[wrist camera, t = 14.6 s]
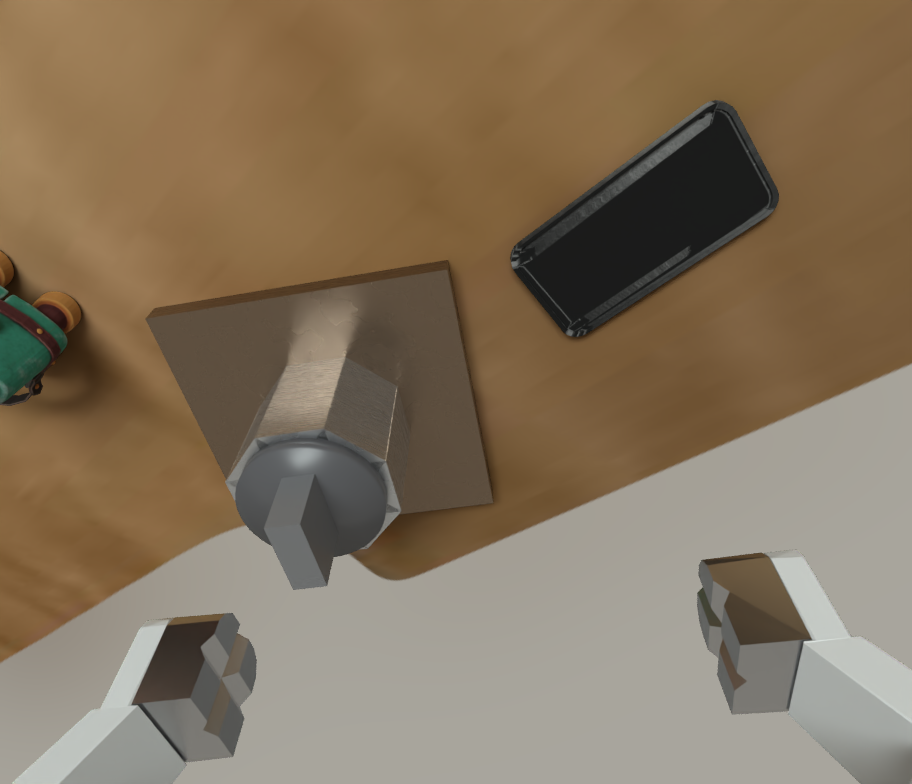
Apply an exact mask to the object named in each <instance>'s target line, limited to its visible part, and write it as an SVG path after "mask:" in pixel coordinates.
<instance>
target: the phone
mask: <svg viewBox="0 0 912 784" xmlns="http://www.w3.org/2000/svg"><path fill="white" fill-rule="evenodd" d="M778 200H779V193H778V190H777V188H776V186H775V184H774V182H773V180H772V178H771V176H770V174H769V173H768V171H767V169H766V167H765V165H764V163H763V161H762V159H761V157H760V155H759V154H758V152H757V150H756V148H755V146H754V144H753V142H752V140H751V138H750V136H749V135H748V133H747V131H746V129H745V127H744V125H743V123H742V121H741V119H740V117H739V116H738V114H737V112H736V110H735V109H734V108H733V107H732V106H731V105H729V104H727V103H725V102H723V101H718V100H715V101H710V102H708V103H706V104H704V105H702V106H701V107H700V108H698V109H697V110H696V111H694V112H693V113H692V114H690V115H689V116H688V117H686V118H685V119H684V120H682V121H681V122H680V123H678V124H677V125H676V126H674V127H673V128H672V129H670V130H669V131H667V132H666V133H665V134H663V135H662V136H661V137H659V138H658V139H657V140H655V141H654V142H653V143H651V144H650V145H649V146H647V147H646V148H645V149H643V150H642V151H641V152H639V153H638V154H637V155H635V156H634V157H633V158H631V159H630V160H629V161H627V162H626V163H624V164H623V165H622V166H620V167H619V168H618V169H616V170H615V171H614V172H612V173H611V174H610V175H608V176H607V177H606V178H604V179H603V180H602V181H600V182H599V183H598V184H596V185H595V186H594V187H592V188H591V189H590V190H588V191H587V192H586V193H584V194H583V195H582V196H580V197H579V198H577V199H576V200H575V201H573V202H572V203H571V204H569V205H568V206H567V207H565V208H564V209H563V210H561V211H560V212H559V213H557V214H556V215H555V216H553V217H552V218H551V219H549V220H548V221H547V222H545V223H544V224H543V225H541V226H540V227H539V228H537V229H536V230H534V231H533V232H532V233H530V234H529V235H528V236H526V237H525V238H524V239H522V240H521V241H520V242H518V243H517V244H516V245H515V246H514V248H513V250H512V252H511V257H510V258H511V264H512V268H513V270H514V271H515V273H516V274H517V275H518V276H519V278H520V279H521V280H522V281H523V283H524V284H525V285H526V286H527V288H528V289H529V290H530V291H531V293H532V294H533V295H534V296H535V297H536V299H537V300H538V301H539V302H540V304H541V305H542V306H543V307H544V309H545V310H546V311H547V312H548V314H549V315H550V316H551V317H552V319H553V320H554V321H555V322H556V323H557V325H558V326H559V327H560V328H561V330H562V331H563V332H564V333H565V334H567V335H569V336H573V337H578V336H583V335H585V334H587V333H588V332H590V331H592V330H593V329H595V328H596V327H598V326H599V325H601V324H602V323H604V322H605V321H607V320H608V319H610V318H612V317H613V316H615V315H616V314H618V313H619V312H621V311H622V310H624V309H625V308H627V307H628V306H630V305H632V304H633V303H635V302H636V301H638V300H639V299H641V298H642V297H644V296H645V295H647V294H648V293H650V292H652V291H653V290H655V289H656V288H658V287H659V286H661V285H662V284H664V283H665V282H667V281H669V280H670V279H672V278H673V277H675V276H676V275H678V274H679V273H681V272H682V271H684V270H685V269H687V268H689V267H690V266H692V265H693V264H695V263H696V262H698V261H699V260H701V259H702V258H704V257H705V256H707V255H709V254H710V253H712V252H713V251H715V250H716V249H718V248H719V247H721V246H722V245H724V244H726V243H727V242H729V241H730V240H732V239H733V238H735V237H736V236H738V235H739V234H741V233H742V232H744V231H746V230H747V229H749V228H750V227H752V226H753V225H755V224H756V223H758V222H759V221H761V220H763V219H764V218H766V217H767V216H768V215H769V214H771V213H772V212H773V210H774V209H775V208H776V206H777V203H778Z"/></svg>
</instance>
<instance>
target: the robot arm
mask: <svg viewBox="0 0 912 784" xmlns="http://www.w3.org/2000/svg"><path fill="white" fill-rule="evenodd" d="M699 578H700V580H701V583H702V585H703V588H702V589H701V590H700V591H699V592H698V593H697V594H698V595H697V596H698V598H697V599H698V600H697V607H698V615H699V621H700V626H701V629H702V633H703V636H704V639H705V642H706V645H707V648H708V650H709V651H710V652H712V653H713V654H714V655H716V656H717V657H718V658H719V661H718V673H717V675H718V678H719V681H720V683H721V686H722V689H723V692H724V694H725V697H726V700H727V702H728V705H729V708H730V710H731V713H732V714H748V713H765V712H783V711H789V712H788V715H790V716H791V717H792V718H793V719H794V720H795V721H796V722H797V723H798V724H799V725H800V726H801V727H802V728H803V729H804V730H805V731H806V732H807V733H808V734H809V735H810V736H811V737H813V738H814V739H815V740H816V741H817V742H818V743H819V744H820V745H821V746H822V747H823V748H824V749H825V750H826V751H827V752H829V754H830V755H831V756H832V757H833V758H835V760H837V761H838V762H839V763H840V764H841V765H842V766H843V767H844V768H845V769H846V770H847V771H848V772H849V773H850V774H851V775H852V776H853V777H854V778H855V779H856V780H857V781H858V782H859V783H861V784H912V669H910V668H909V667H907V666H906V665H904V664H903V663H901V662H900V661H898V660H897V659H895V658H894V657H892V656H891V655H889V654H888V653H886V652H885V651H883V650H882V649H880V648H879V647H877V646H876V645H874V644H873V643H871V642H870V641H868V640H867V639H866V638H864V637H862V636H855V637H852V636H851V635H850V633H849V631H848V630H847V628H846V626H845V625H844V623H843V621H842V620H841V618H840V616H839V615H838V613H837V611H836V609H835V608H834V606H833V604H832V603H831V601H830V599H829V598H828V596H827V594H826V593H825V591H824V589H823V588H822V586H821V584H820V583H819V581H818V579H817V577H816V576H815V574H814V572H813V571H812V569H811V567H810V566H809V564H808V562H807V561H806V559H805V557H804V555H803V554H802V553H800V552H799V551H798V550H787V551H778V552H770V553H764V554H763V553H754V554H746V555H739V556H731V557H723V558H714V559H706V560H701V562H700V564H699ZM239 626H240V624H239V622H238V621H237V619H236V618H235V616H234V615H233V613H226V614H213V615H201V616H189V617H176V618H167V619H156V620H148V621H147V622H146V623H145V624H144V625H143V626H142V627H141V628H140V629H139V631H138V633H137V635H136V637H135V639H134V641H133V643H132V645H131V647H130V649H129V651H128V653H127V656H126V658H125V659H124V661H123V663H122V665H121V667H120V670H119V672H118V674H117V676H116V678H115V680H114V682H113V684H112V686H111V688H110V690H109V692H108V694H107V696H106V698H105V700H104V702H103V704H102V706H101V708H100V709H93V710H91V711H90V712H89V713H88V714H87V715H86V716H85V717H84V718H82V719H81V720H80V721H79V722H78V723H77V724H76V725H75V726H74V727H73V728H72V729H70V730H69V731H68V732H67V733H66V734H65V735H64V736H63V737H62V738H61V739H60V740H58V741H57V742H56V743H55V744H54V745H53V746H52V747H51V748H50V749H49V750H48V751H46V753H44V754H43V755H42V756H41V757H40V758H39V759H38V760H37V761H36V762H35V763H34V764H32V765H31V766H30V767H29V768H28V769H27V770H26V771H25V772H24V773H23V774H21V775H20V776H19V777H18V778H17V779H16V780H15V781H14V782H13V783H12V784H172V783H173V782H174V781H175V780H176V778H177V777H178V776H179V774H180V773H181V772H182V771H183V769H184V768H185V767H186V763H185V762H193V761H202V760H210V759H219V758H227V757H233V755H234V752H235V748H236V745H237V741H238V738H239V735H240V731H241V728H242V725H243V721H244V716H243V714H242V711H241V709H240V706H241V704H242V703H243V702H244V701H245V700H246V699H247V698H248V697H249V696H250V695H251V693H252V690H253V686H254V682H255V679H256V661H257V660H256V656H255V652H254V648H253V646H252V644H251V642H250V641H249V639H247V638H245V637H243V636H241V635H240V634H238V633H237V632H238V629H239Z"/></svg>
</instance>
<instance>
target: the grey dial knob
mask: <svg viewBox="0 0 912 784" xmlns="http://www.w3.org/2000/svg"><path fill="white" fill-rule="evenodd" d="M235 502H236V506H237V510H238V512H239V514H240V516H241V518H242V520H243V521H244V523H245V524H246V525H247V527H248V528H249V529H250V530H251V531H252V532H253V533H254V534H255V535H256V536H258V537H259V538H260V539H261V540H263V541H265V542H266V543H268V544H269V545H271V546H272V547H273V549H274V551H275V553H276V555H277V557H278V559H279V561H280V563H281V565H282V567H283V569H284V571H285V573H286V575H287V578H288V579H289V581H290V584H291V586H292V588H293V590H296V589H305V588H314V587H323V586H327V584H328V579H329V575H330V570H331V566H332V561H333V557H337V556H342V555H346V554H349V553H352V552H354V551H357V550H359V549H361V548H362V547H364V546H366V545H367V544H368V543H370V542H371V541H372V540H373V539H374V538H375V537H376V536H377V534H378V533H379V532H380V530H381V528H382V526H383V523H384V520H385V515H386V508H387V491H386V487H385V484H384V482H383V479H382V477H381V476H380V474H379V472H378V471H377V470H376V469H375V467H374V466H373V465H372V464H371V463H370V462H369V461H368V460H367V459H365V458H364V457H363V456H361V455H360V454H359V453H357V452H355V451H353V450H352V449H350V448H348V447H345V446H343V445H341V444H338V443H335V442H332V441H328V440H323V439H317V438H291V439H286V440H281V441H278V442H275V443H272V444H270V445H268V446H266V447H264V448H262V449H261V450H259V451H258V452H256V453H255V454H254V455H253V456H252V457H251V458H250V459H249V461H248V462H247V463H246V465H245V467H244V469H243V471H242V473H241V475H240V478H239V480H238V483H237V486H236V491H235Z"/></svg>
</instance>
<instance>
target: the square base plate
mask: <svg viewBox="0 0 912 784" xmlns="http://www.w3.org/2000/svg"><path fill="white" fill-rule="evenodd" d="M146 321H147V323H148V325H149V327H150V329H151V331H152V333H153V335H154V337H155V339H156V341H157V343H158V345H159V347H160V349H161V351H162V353H163V355H164V357H165V359H166V361H167V362H168V364H169V366H170V368H171V370H172V372H173V374H174V376H175V378H176V380H177V382H178V384H179V386H180V388H181V390H182V392H183V394H184V396H185V398H186V400H187V402H188V404H189V406H190V408H191V410H192V412H193V414H194V416H195V418H196V420H197V422H198V424H199V426H200V428H201V430H202V432H203V434H204V436H205V438H206V440H207V442H208V444H209V446H210V448H211V450H212V452H213V454H214V456H215V458H216V460H217V462H218V464H219V466H220V468H221V470H222V472H223V474H224V476H225V478H226V481H225V483H226V484H227V486H228V488H229V490H230V492H231V494H232V496H233V498H234V500H235V491H236V486H237V483H238V480H239V478H240V475H241V473H242V471H243V469H244V467H245V465H246V463H247V462H248V461H249V459H250V458H251V457H252V456H253V455H254V454H255V453H256V452H258V451H259V450H261V449H262V448H264V447H266V446H268V445H270V444H272V443H275V442H278V441H281V440H286V439H291V438H317V439H323V440H328V441H332V442H335V443H338V444H341V445H343V446H345V447H348V448H350V449H352V450H353V451H355V452H357V453H359V454H360V455H361V456H363V457H364V458H365V459H367V460H368V461H369V462H370V463H371V464H372V465H373V466H374V467H375V469H376V470H377V471H378V472H379V474H380V476H381V477H382V479H383V482H384V484H385V487H386V491H387V508H386V515H385V520H384V523H383V526H382V528H381V530H380V532H379V533H378V534H377V536H376V537H375V538H374V539H373V540H372V541H371V542H370V543H368V544H367V545H366V546H364V547H362V548H361V549H368V548H369V546H370V545H371V544H372V543H373V542H374V541H375V540H376V539H377V538H378V537H379V535H380V534H381V533H382V532H383V531H384V530H385V529H386V528H387V527H388V525H389V524H390V523H391V522H392V521H393V520H394V519H395V518H396V517H397V515H400V514H408V513H416V512H424V511H432V510H440V509H449V508H457V507H465V506H473V505H481V504H489V503H493V490H492V485H491V480H490V475H489V469H488V464H487V459H486V454H485V449H484V444H483V439H482V433H481V428H480V423H479V418H478V413H477V408H476V402H475V397H474V392H473V387H472V382H471V377H470V372H469V366H468V361H467V356H466V351H465V346H464V341H463V336H462V330H461V325H460V320H459V315H458V310H457V305H456V300H455V294H454V289H453V284H452V279H451V274H450V269H449V264H448V260H446V261H440V262H434V263H428V264H422V265H416V266H409V267H403V268H397V269H391V270H385V271H379V272H373V273H367V274H361V275H355V276H349V277H343V278H337V279H330V280H324V281H318V282H312V283H306V284H300V285H294V286H288V287H282V288H276V289H270V290H264V291H257V292H251V293H245V294H239V295H233V296H227V297H221V298H215V299H209V300H203V301H197V302H191V303H185V304H178V305H172V306H166V307H160V308H155V309H154V310H153V311H152V312H151V313H150V314H149V315H148V316H147V318H146ZM249 530H250V529H249Z"/></svg>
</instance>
